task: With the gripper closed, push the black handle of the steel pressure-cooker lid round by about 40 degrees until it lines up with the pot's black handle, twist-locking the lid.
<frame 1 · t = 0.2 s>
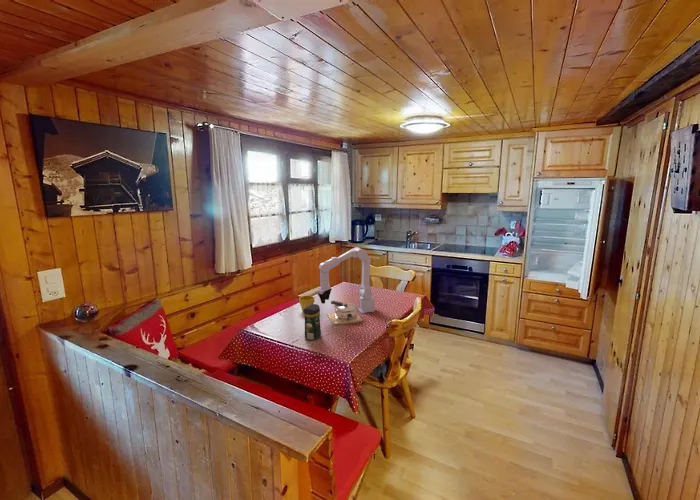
hand: (325, 301, 213), 10 cm above the table, fingers open, 7 cm apart
coffee jar: (312, 337, 185), on the table
cooker lid: (343, 305, 213), point 8 cm above the table, hinge at 40.0°
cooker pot: (345, 317, 213), on the table
plant pot: (307, 311, 225), on the table
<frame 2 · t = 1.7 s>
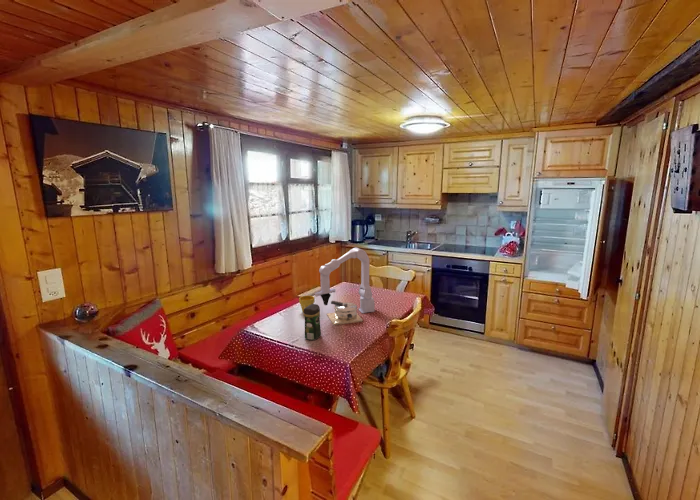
hand: (325, 304, 212), 8 cm above the table, fingers closed
nothing on the table moved.
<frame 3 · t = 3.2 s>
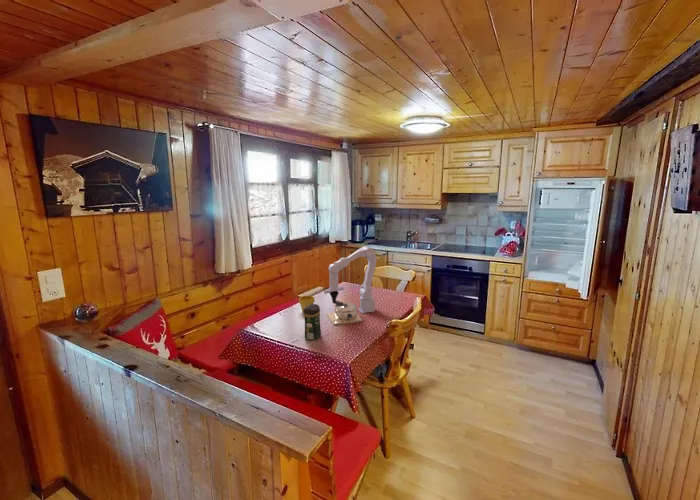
hand: (334, 302, 216), 9 cm above the table, fingers closed, pressing on cooker lid
cooker lid: (343, 305, 213), point 8 cm above the table, hinge at 30.9°, touching gripper
everything else where it was.
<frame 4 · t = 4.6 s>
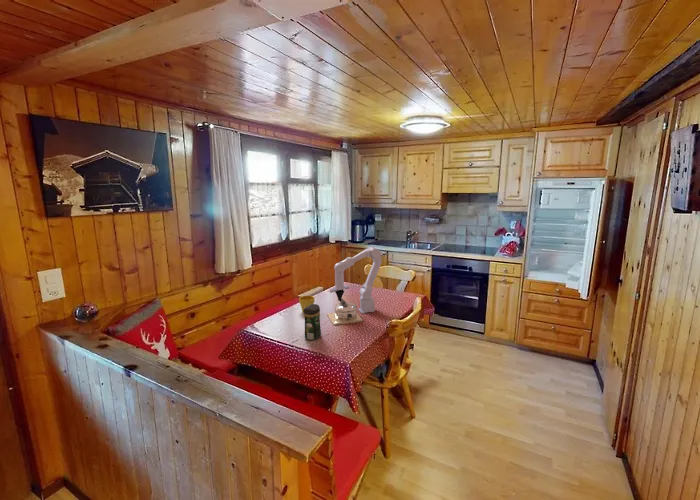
hand: (339, 300, 219), 9 cm above the table, fingers closed, pressing on cooker lid
cooker lid: (344, 305, 213), point 8 cm above the table, hinge at 0.5°, touching gripper
everything else where it was.
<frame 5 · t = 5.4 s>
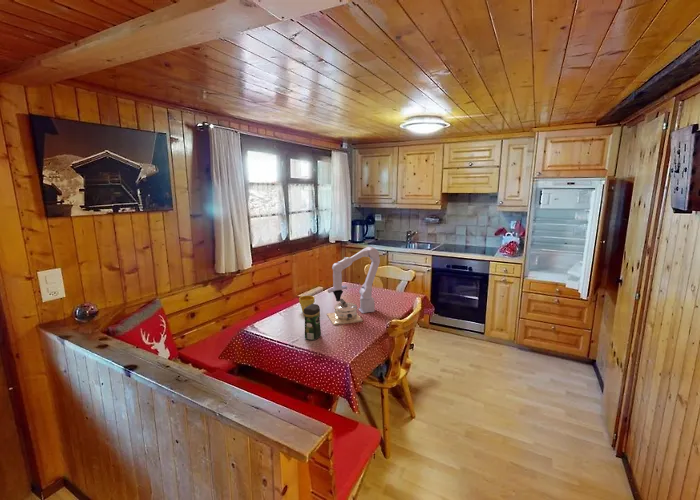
hand: (338, 301, 218), 9 cm above the table, fingers closed
cooker lid: (344, 305, 213), point 8 cm above the table, hinge at 0.4°
everything else where it was.
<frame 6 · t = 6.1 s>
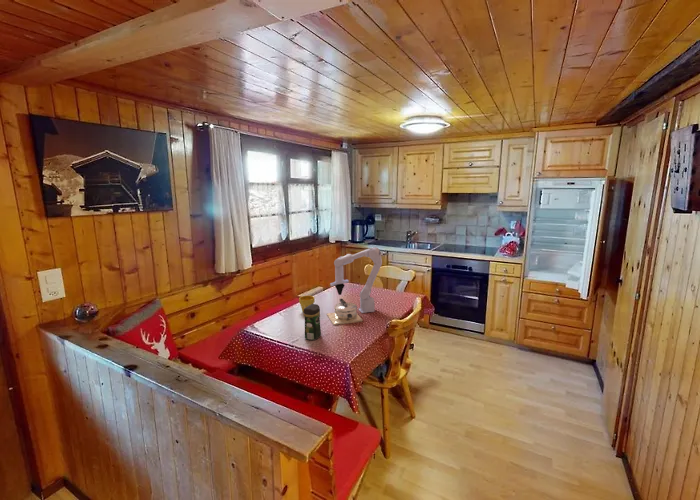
hand: (339, 294, 227), 10 cm above the table, fingers closed
nothing on the table moved.
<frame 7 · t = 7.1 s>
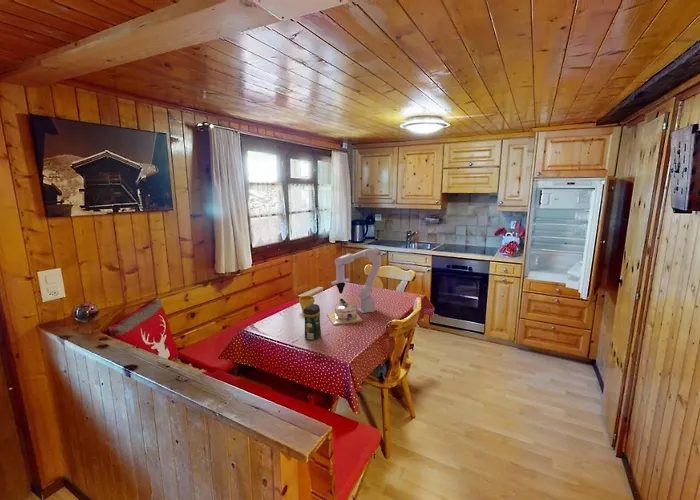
hand: (340, 293, 230), 10 cm above the table, fingers closed
nothing on the table moved.
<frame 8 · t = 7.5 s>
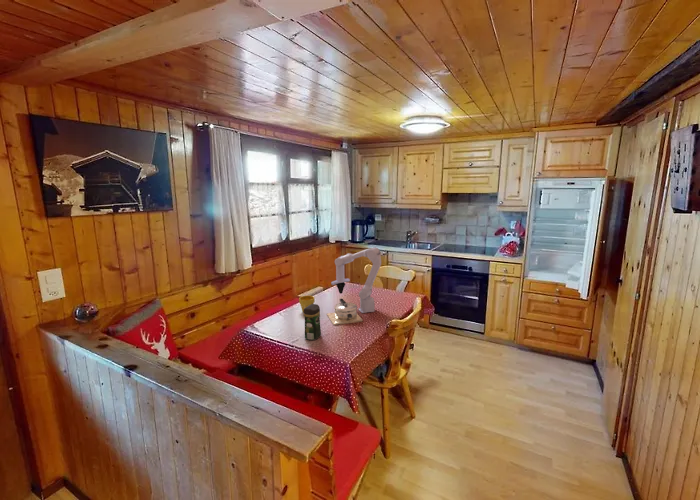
hand: (340, 293, 230), 10 cm above the table, fingers closed
nothing on the table moved.
at the end: cooker lid at +0° (first picture: +40°) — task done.
